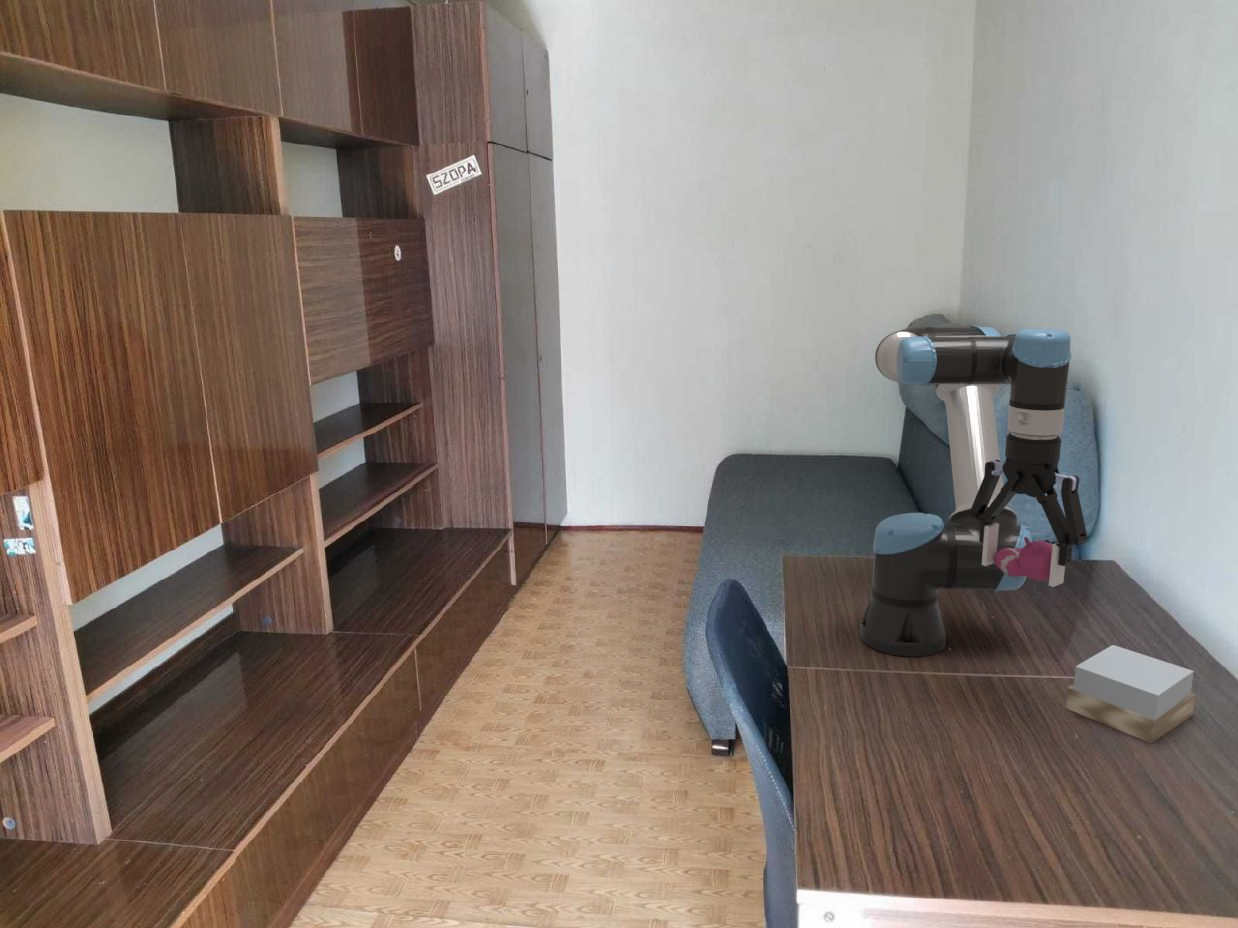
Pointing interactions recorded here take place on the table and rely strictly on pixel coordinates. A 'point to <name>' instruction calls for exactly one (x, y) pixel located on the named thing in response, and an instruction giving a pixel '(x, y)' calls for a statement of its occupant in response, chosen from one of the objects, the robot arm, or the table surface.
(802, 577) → the table surface
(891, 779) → the table surface
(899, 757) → the table surface
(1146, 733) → the lower slab
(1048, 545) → the toy
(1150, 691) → the upper block
